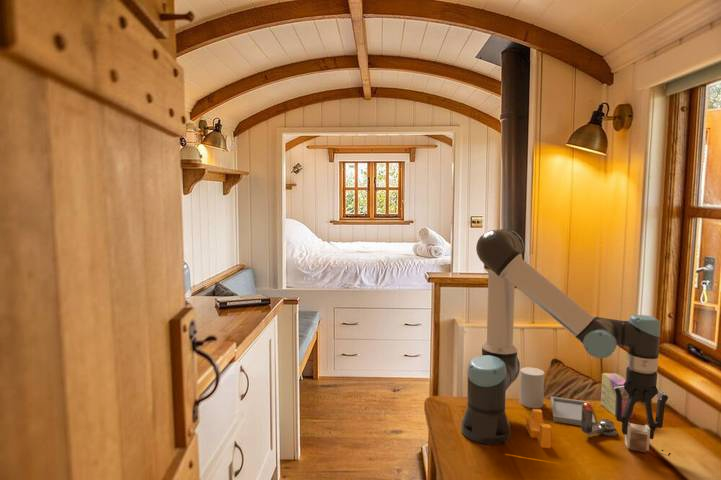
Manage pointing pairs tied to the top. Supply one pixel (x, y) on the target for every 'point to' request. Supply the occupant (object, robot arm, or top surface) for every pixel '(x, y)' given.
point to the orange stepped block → (539, 428)
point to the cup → (531, 387)
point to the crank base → (609, 433)
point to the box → (612, 392)
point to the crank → (587, 422)
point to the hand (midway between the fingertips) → (636, 446)
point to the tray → (568, 411)
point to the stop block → (638, 438)
